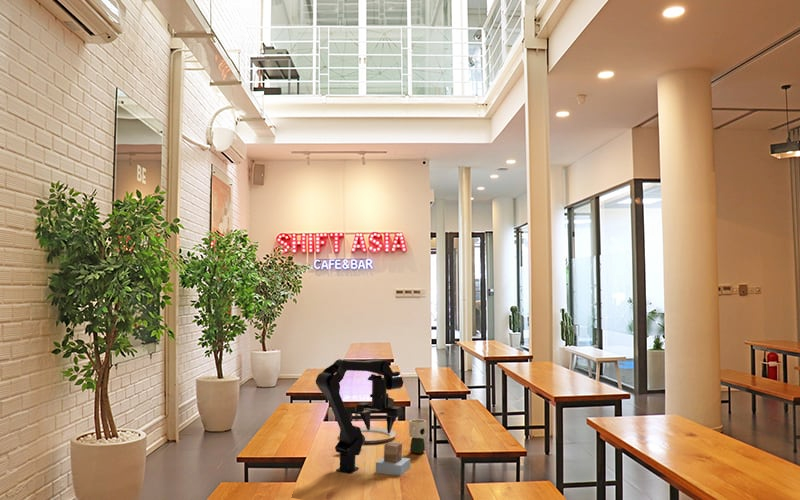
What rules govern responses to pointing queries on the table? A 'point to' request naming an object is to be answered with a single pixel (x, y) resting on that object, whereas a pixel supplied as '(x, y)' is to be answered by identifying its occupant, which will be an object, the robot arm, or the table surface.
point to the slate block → (393, 466)
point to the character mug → (417, 435)
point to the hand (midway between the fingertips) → (378, 431)
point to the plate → (378, 430)
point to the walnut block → (393, 452)
